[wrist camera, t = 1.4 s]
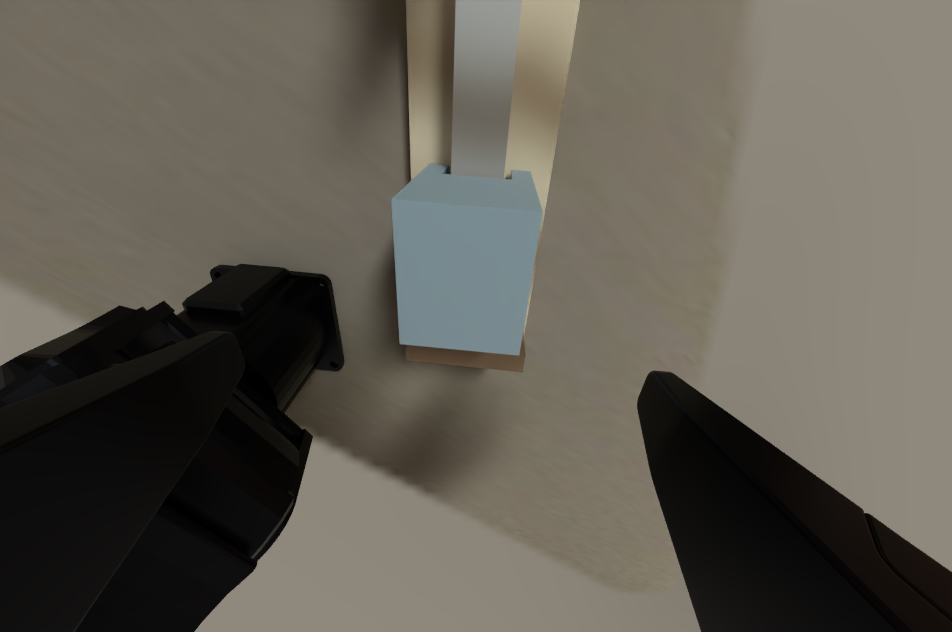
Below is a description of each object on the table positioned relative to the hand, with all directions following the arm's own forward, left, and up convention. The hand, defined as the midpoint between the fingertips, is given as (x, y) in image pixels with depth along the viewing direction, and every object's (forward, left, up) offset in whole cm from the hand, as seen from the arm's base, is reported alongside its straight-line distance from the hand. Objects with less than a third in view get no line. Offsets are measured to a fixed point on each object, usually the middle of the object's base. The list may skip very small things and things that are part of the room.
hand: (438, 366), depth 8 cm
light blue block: (0, 0, -10) cm, 10 cm away
